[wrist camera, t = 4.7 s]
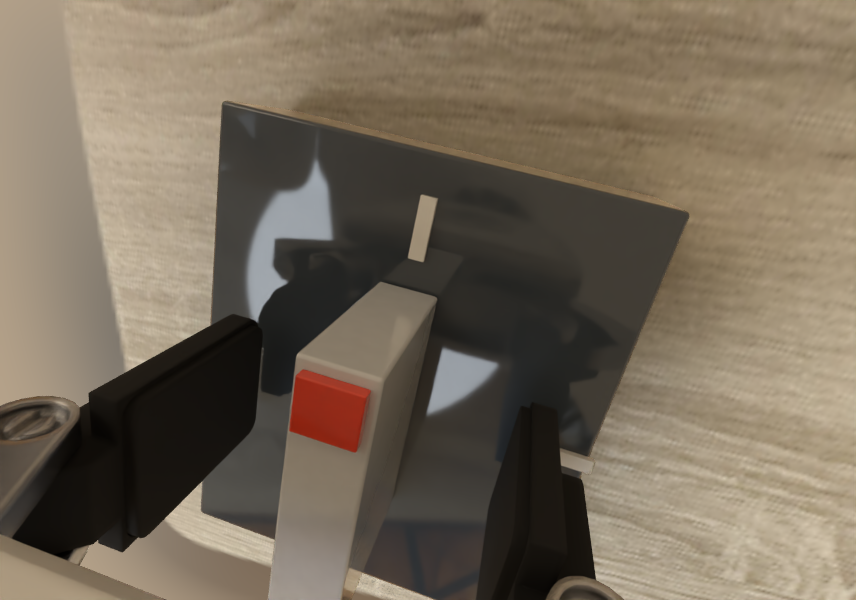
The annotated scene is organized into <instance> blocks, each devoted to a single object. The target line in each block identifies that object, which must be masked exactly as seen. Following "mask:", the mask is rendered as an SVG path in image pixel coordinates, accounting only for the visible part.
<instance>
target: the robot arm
mask: <svg viewBox="0 0 856 600" xmlns="http://www.w3.org/2000/svg"><path fill="white" fill-rule="evenodd" d="M262 340H263V331H262V329H261V328H259V327H258V324H257V322H256V321H255V320H253V319H249V318H246V317H243V316H239V315H236V314H231V315H229V316H227V317H225V318H223V319H221V320H220V321H218V322H216V323H214V324H212V325H211V326H209V327H207V328H205V329H203V330H202V331H200V332H198V333H196V334H194V335H193V336H191V337H189V338H187V339H185V340H183V341H182V342H180V343H178V344H176V345H174V346H173V347H171V348H169V349H167V350H165V351H164V352H162V353H160V354H158V355H156V356H155V357H153V358H151V359H149V360H147V361H146V362H144V363H142V364H140V365H138V366H136V367H135V368H133V369H131V370H129V371H127V372H126V373H124V374H122V375H120V376H118V377H117V378H115V379H113V380H111V381H109V382H108V383H106V384H104V385H102V386H100V387H98V388H97V389H95V390H93V391H91V392H90V393H89V403H87V404H85V405H83V406H82V407H79V406H78V405H77V404H76V403H75V402H73V401H70V400H68V399H66V398H61V397H54V396H38V397H31V398H25V399H20V400H16V401H13V402H9V403H6V404H4V405H2V406H0V600H165V599H163V598H160V597H158V596H155V595H153V594H150V593H148V592H145V591H143V590H140V589H137V588H135V587H133V586H130V585H128V584H125V583H123V582H120V581H117V580H115V579H112V578H110V577H107V576H105V575H102V574H100V573H97V572H95V571H92V570H90V569H87V568H85V567H82V566H80V563H81V562H82V560H83V558H84V556H85V555H86V553H87V550H88V547H89V545H91V544H94V543H95V542H96V541H97V540H98V543H100V544H102V545H105V546H107V547H110V548H112V549H115V550H118V551H120V552H124V551H125V549H127V548H128V547H129V546H130V545H131V544H132V543H133V542H134V541H135V540H136V539H137V538H138V537H139V538H144V537H146V536H147V535H148V534H150V533H151V532H152V531H153V530H154V529H155V528H156V527H157V526H158V525H159V524H160V523H161V522H162V520H164V519H165V518H166V517H167V516H168V515H169V514H170V513H171V512H172V511H173V510H174V509H175V508H176V507H177V506H178V505H179V504H180V503H181V502H182V501H183V500H184V499H185V498H186V497H187V496H188V495H189V494H190V493H191V492H192V491H193V490H194V489H195V488H196V487H197V486H198V485H199V484H200V483H201V482H202V481H203V480H204V479H205V478H206V477H207V476H208V475H209V474H210V473H211V472H212V471H213V470H214V469H215V468H216V467H217V466H218V465H219V464H220V463H221V462H222V461H223V460H224V459H225V458H226V457H227V456H228V455H229V454H230V453H231V452H232V451H233V450H234V449H235V448H236V447H237V446H238V445H239V444H240V443H241V442H242V441H243V440H244V439H245V438H246V437H247V436H248V434H249V433H250V432H251V430H252V429H253V426H254V424H255V420H256V410H257V398H258V387H259V375H260V363H261V351H262ZM476 600H624V599H623V598H622V597H621V596H619V595H618V594H617V593H616V592H615V591H613V590H612V589H611V588H610V587H608V586H606V585H604V584H602V583H600V582H599V581H597V580H596V576H595V569H594V562H593V554H592V547H591V539H590V532H589V524H588V517H587V509H586V502H585V494H584V487H583V482H582V480H581V479H580V478H577V477H574V476H571V475H567V474H564V473H562V471H561V457H560V444H559V430H558V416H557V410H556V409H554V408H550V407H547V406H543V405H540V404H537V403H533V402H532V403H531V405H530V407H529V408H528V407H524V406H521V407H520V410H519V413H518V416H517V419H516V422H515V425H514V428H513V431H512V434H511V437H510V440H509V444H508V447H507V450H506V453H505V456H504V459H503V462H502V465H501V468H500V471H499V474H498V478H497V481H496V484H495V487H494V490H493V493H492V496H491V500H490V503H489V508H488V513H487V520H486V528H485V535H484V542H483V550H482V557H481V564H480V572H479V579H478V586H477V594H476Z"/></svg>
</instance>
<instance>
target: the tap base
mask: <svg viewBox="0 0 856 600" xmlns="http://www.w3.org/2000/svg"><path fill="white" fill-rule="evenodd" d="M688 219H689V213H688V212H687V211H685V210H683V209H680V208H678V207H676V206H674V205H671V204H669V203H667V202H665V201H663V200H660V199H658V198H656V197H654V196H650V195H646V194H642V193H638V192H633V191H629V190H625V189H621V188H617V187H612V186H608V185H604V184H600V183H596V182H591V181H587V180H583V179H579V178H575V177H571V176H566V175H562V174H558V173H554V172H550V171H545V170H541V169H537V168H533V167H529V166H524V165H520V164H516V163H512V162H508V161H503V160H499V159H495V158H491V157H487V156H482V155H478V154H474V153H470V152H466V151H461V150H457V149H453V148H449V147H445V146H440V145H436V144H432V143H428V142H424V141H419V140H415V139H411V138H407V137H403V136H399V135H394V134H390V133H386V132H382V131H378V130H373V129H369V128H365V127H361V126H357V125H352V124H348V123H344V122H340V121H336V120H331V119H327V118H323V117H319V116H315V115H310V114H306V113H302V112H298V111H294V110H289V109H282V108H275V107H268V106H261V105H254V104H247V103H239V102H232V101H224V102H223V103H222V112H221V132H220V151H219V170H218V190H217V209H216V228H215V248H214V267H213V286H212V306H211V325H212V324H214V323H216V322H218V321H220V320H221V319H223V318H225V317H227V316H229V315H231V314H236V315H239V316H243V317H246V318H249V319H253V320H255V321H256V322H257V324H258V327H259V328H261V329H262V331H263V340H262V351H261V363H260V375H259V387H258V398H257V410H256V420H255V424H254V426H253V429H252V430H251V432H250V433H249V434H248V436H247V437H246V438H245V439H244V440H243V441H242V442H241V443H240V444H239V445H238V446H237V447H236V448H235V449H234V450H233V451H232V452H231V453H230V454H229V455H228V456H227V457H226V458H225V459H224V460H223V461H222V462H221V463H220V464H219V465H218V466H217V467H216V468H215V469H214V470H213V471H212V472H211V473H210V474H209V475H208V476H207V477H206V478H205V479H204V480H203V481H202V499H201V512H202V513H205V514H207V515H210V516H213V517H215V518H218V519H221V520H223V521H226V522H229V523H231V524H234V525H237V526H239V527H242V528H245V529H247V530H250V531H253V532H255V533H258V534H261V535H263V536H266V537H269V538H271V539H274V540H275V534H276V525H277V516H278V508H279V499H280V491H281V482H282V474H283V465H284V456H285V448H286V439H287V431H288V422H289V413H290V405H291V396H292V388H293V379H294V371H295V362H296V355H297V354H298V353H299V352H300V351H301V350H302V349H303V348H304V347H305V346H307V345H308V344H309V343H310V342H311V341H312V340H313V339H315V338H316V337H317V336H318V335H319V334H320V333H322V332H323V331H324V330H325V329H326V328H327V327H328V326H330V325H331V324H332V323H333V322H334V321H335V320H336V319H338V318H339V317H340V316H341V315H342V314H343V313H345V312H346V311H347V310H348V309H349V308H350V307H351V306H353V305H354V304H355V303H356V302H357V301H358V300H360V299H361V298H362V297H363V296H364V295H365V294H366V293H368V292H369V291H370V290H371V289H372V288H373V287H374V286H376V285H377V284H378V283H379V282H383V283H387V284H391V285H394V286H398V287H402V288H405V289H409V290H413V291H416V292H420V293H424V294H427V295H431V296H435V297H436V298H437V304H436V309H435V313H434V317H433V322H432V326H431V331H430V335H429V339H428V344H427V348H426V353H425V357H424V361H423V366H422V370H421V374H420V379H419V383H418V388H417V392H416V396H415V401H414V405H413V410H412V414H411V418H410V423H409V427H408V432H407V436H406V440H405V445H404V449H403V454H402V458H401V462H400V467H399V471H398V476H397V480H396V484H395V489H394V493H393V497H392V502H391V504H390V507H389V509H388V511H387V514H386V516H385V519H384V521H383V524H382V526H381V529H380V531H379V533H378V536H377V538H376V541H375V543H374V546H373V548H372V551H371V553H370V555H369V558H368V560H367V563H366V565H365V568H364V570H363V572H362V573H365V574H367V575H370V576H373V577H375V578H378V579H381V580H383V581H386V582H389V583H391V584H394V585H397V586H399V587H402V588H405V589H407V590H410V591H413V592H415V593H418V594H421V595H423V596H426V597H429V598H431V599H434V600H476V594H477V586H478V579H479V572H480V564H481V557H482V550H483V542H484V535H485V528H486V520H487V513H488V508H489V503H490V500H491V496H492V493H493V490H494V487H495V484H496V481H497V478H498V474H499V471H500V468H501V465H502V462H503V459H504V456H505V453H506V450H507V447H508V444H509V440H510V437H511V434H512V431H513V428H514V425H515V422H516V419H517V416H518V413H519V410H520V407H521V406H524V407H528V408H529V407H530V405H531V403H532V402H533V403H537V404H540V405H543V406H547V407H550V408H554V409H556V410H557V416H558V430H559V444H560V457H561V471H562V473H564V474H567V475H571V476H574V477H577V478H580V477H581V474H582V472H583V473H586V474H590V473H591V471H592V469H593V466H594V464H595V460H594V459H593V458H590V457H589V455H590V453H591V450H592V448H593V446H594V443H595V441H596V439H597V436H598V434H599V431H600V429H601V427H602V424H603V422H604V420H605V417H606V415H607V412H608V410H609V408H610V405H611V403H612V400H613V398H614V396H615V393H616V391H617V389H618V386H619V384H620V381H621V379H622V377H623V374H624V372H625V369H626V367H627V365H628V362H629V360H630V358H631V355H632V353H633V350H634V348H635V346H636V343H637V341H638V338H639V336H640V334H641V331H642V329H643V327H644V324H645V322H646V319H647V317H648V315H649V312H650V310H651V308H652V305H653V303H654V300H655V298H656V296H657V293H658V291H659V288H660V286H661V284H662V281H663V279H664V277H665V274H666V272H667V269H668V267H669V265H670V262H671V260H672V257H673V255H674V253H675V250H676V248H677V246H678V243H679V241H680V238H681V236H682V234H683V231H684V229H685V226H686V224H687V222H688ZM211 325H210V326H211Z"/></svg>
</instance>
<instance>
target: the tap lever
mask: <svg viewBox="0 0 856 600" xmlns="http://www.w3.org/2000/svg"><path fill="white" fill-rule="evenodd" d="M436 304H437V298H436V297H435V296H431V295H427V294H424V293H420V292H416V291H413V290H409V289H405V288H402V287H398V286H394V285H391V284H387V283H383V282H379V283H378V284H377V285H376V286H374V287H373V288H372V289H371V290H370V291H369V292H368V293H366V294H365V295H364V296H363V297H362V298H361V299H360V300H358V301H357V302H356V303H355V304H354V305H353V306H351V307H350V308H349V309H348V310H347V311H346V312H345V313H343V314H342V315H341V316H340V317H339V318H338V319H336V320H335V321H334V322H333V323H332V324H331V325H330V326H328V327H327V328H326V329H325V330H324V331H323V332H322V333H320V334H319V335H318V336H317V337H316V338H315V339H313V340H312V341H311V342H310V343H309V344H308V345H307V346H305V347H304V348H303V349H302V350H301V351H300V352H299V353H298V354H297V355H296V362H295V371H294V379H293V388H292V396H291V405H290V413H289V422H288V431H287V439H286V448H285V456H284V465H283V474H282V482H281V491H280V499H279V508H278V516H277V525H276V534H275V542H274V551H273V559H272V568H271V577H270V585H269V594H268V600H351V599H352V597H353V594H354V592H355V590H356V587H357V585H358V582H359V580H360V577H361V575H362V572H363V570H364V568H365V565H366V563H367V560H368V558H369V555H370V553H371V551H372V548H373V546H374V543H375V541H376V538H377V536H378V533H379V531H380V529H381V526H382V524H383V521H384V519H385V516H386V514H387V511H388V509H389V507H390V504H391V502H392V497H393V493H394V489H395V484H396V480H397V476H398V471H399V467H400V462H401V458H402V454H403V449H404V445H405V440H406V436H407V432H408V427H409V423H410V418H411V414H412V410H413V405H414V401H415V396H416V392H417V388H418V383H419V379H420V374H421V370H422V366H423V361H424V357H425V353H426V348H427V344H428V339H429V335H430V331H431V326H432V322H433V317H434V313H435V309H436Z"/></svg>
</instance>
